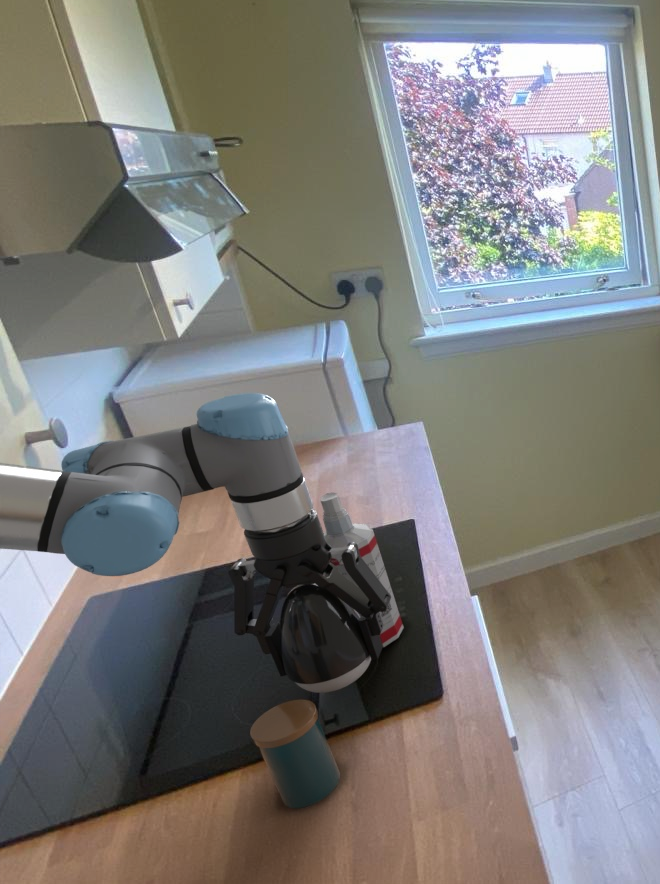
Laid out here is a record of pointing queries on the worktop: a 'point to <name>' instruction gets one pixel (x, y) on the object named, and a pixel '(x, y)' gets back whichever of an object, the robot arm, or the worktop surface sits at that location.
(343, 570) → the white plastic bottle
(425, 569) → the worktop surface
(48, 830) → the worktop surface
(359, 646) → the black egg-shaped gadget
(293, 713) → the canister
